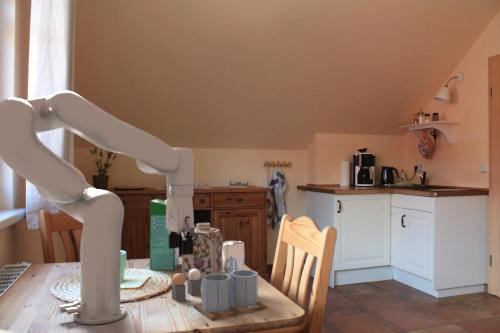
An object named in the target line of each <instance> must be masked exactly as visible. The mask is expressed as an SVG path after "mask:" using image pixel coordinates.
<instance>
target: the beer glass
mask: <svg viewBox="0 0 500 333" xmlns="http://www.w3.org/2000/svg"><path fill="white" fill-rule="evenodd" d="M221 263H222V274H227V275H229V276H230V273H231V272H232V271H236V270H244V268H245V267H244V265H245V242H244V241H240V240H225V241H224V240H223V242H222V251H221Z"/></svg>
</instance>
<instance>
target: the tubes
mask: <svg viewBox="0 0 500 333" xmlns="http://www.w3.org/2000/svg"><path fill="white" fill-rule="evenodd" d="M258 286H259V273H258V272H257V271H255V270H251V269H243V270H236V271H232V272H231V273H230V276H229V275H227V274H223V273H221V274H208V275H205V276H203V277H202V280H201V303H202V309H203V310H204V311H206V312H213V313H219V312H224V311H228V310H229V309H230V308H231V304H232V305H234V306H238V307H249V306H254V305H256V304H257V302H258V301H259V297H258V296H259V292H258V291H259V289H258V288H259V287H258Z"/></svg>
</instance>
